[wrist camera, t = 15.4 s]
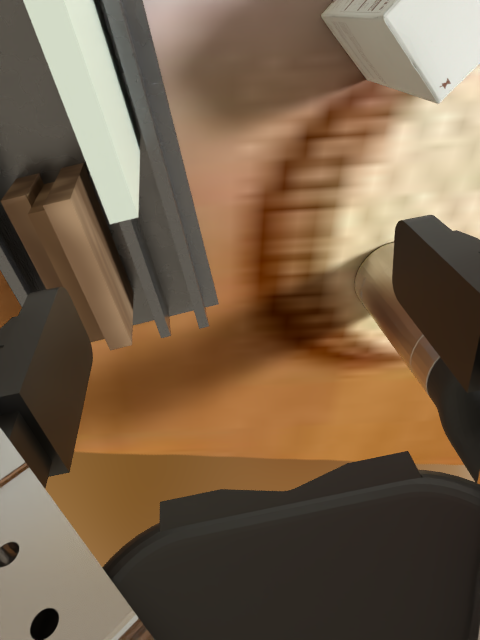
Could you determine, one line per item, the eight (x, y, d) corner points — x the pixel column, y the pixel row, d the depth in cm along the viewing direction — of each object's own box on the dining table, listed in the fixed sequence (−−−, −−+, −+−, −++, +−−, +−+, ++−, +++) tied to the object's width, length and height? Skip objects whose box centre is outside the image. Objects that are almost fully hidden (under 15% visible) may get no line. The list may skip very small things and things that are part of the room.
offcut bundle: (83, 162, 40) (70, 199, 32) (133, 293, 48) (131, 345, 41) (16, 178, 39) (-13, 218, 32) (78, 306, 48) (66, 361, 40)
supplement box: (432, 13, 39) (534, 17, 29) (365, 82, 41) (437, 109, 31) (387, -68, 35) (486, -96, 25) (316, 13, 37) (380, 18, 27)
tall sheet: (64, -111, 30) (-11, -218, 15) (140, 137, 39) (138, 217, 25) (40, -106, 30) (-58, -208, 15) (122, 141, 39) (110, 224, 25)
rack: (97, -180, 29) (86, -220, 24) (216, 297, 52) (225, 330, 47) (-197, -119, 28) (-274, -147, 23) (54, 337, 51) (44, 375, 46)
